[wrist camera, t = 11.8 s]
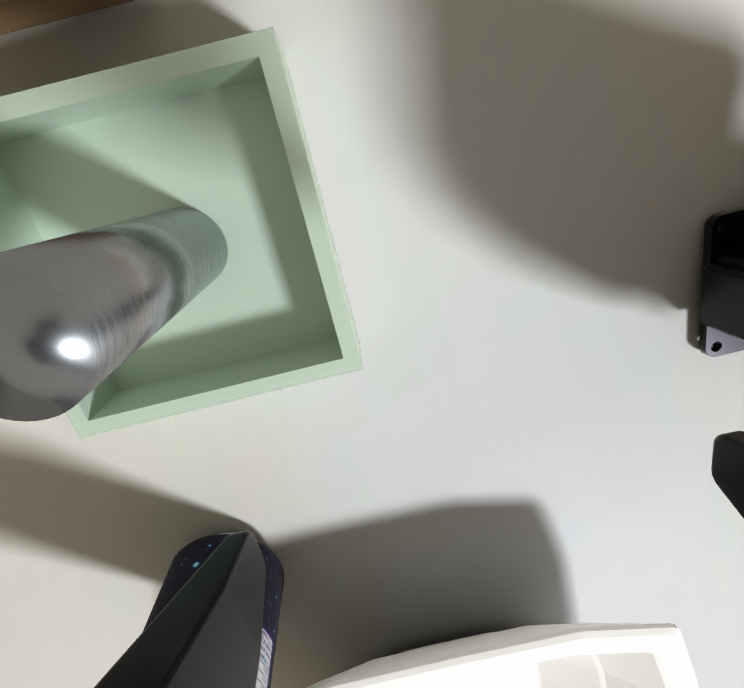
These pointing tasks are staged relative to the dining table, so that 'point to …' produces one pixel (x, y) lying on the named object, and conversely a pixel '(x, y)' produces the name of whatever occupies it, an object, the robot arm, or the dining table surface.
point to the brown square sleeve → (44, 11)
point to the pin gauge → (95, 303)
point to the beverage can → (274, 579)
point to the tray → (196, 191)
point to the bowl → (536, 660)
